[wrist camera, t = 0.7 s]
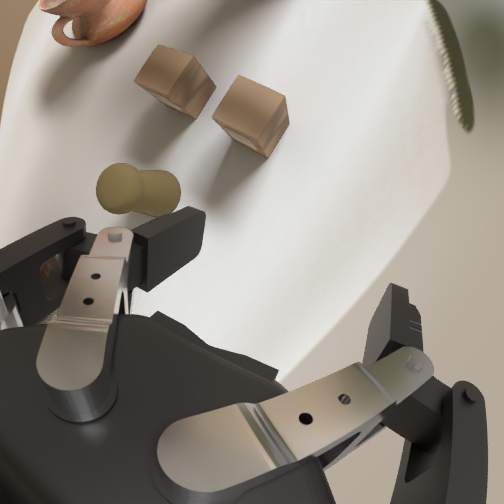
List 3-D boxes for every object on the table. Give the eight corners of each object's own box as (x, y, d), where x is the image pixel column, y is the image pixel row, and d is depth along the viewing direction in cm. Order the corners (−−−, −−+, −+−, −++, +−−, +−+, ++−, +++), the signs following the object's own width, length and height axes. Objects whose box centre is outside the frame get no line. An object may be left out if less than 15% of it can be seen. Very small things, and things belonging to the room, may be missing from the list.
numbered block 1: (186, 74, 35) (158, 44, 26) (216, 87, 35) (193, 55, 26) (166, 106, 36) (132, 82, 27) (195, 120, 36) (166, 96, 27)
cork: (181, 168, 37) (137, 153, 26) (180, 216, 37) (135, 217, 27) (139, 172, 38) (88, 160, 27) (139, 217, 38) (87, 219, 28)
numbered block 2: (253, 105, 34) (238, 74, 26) (289, 123, 34) (285, 95, 25) (232, 140, 35) (210, 118, 27) (267, 159, 35) (256, 141, 26)
